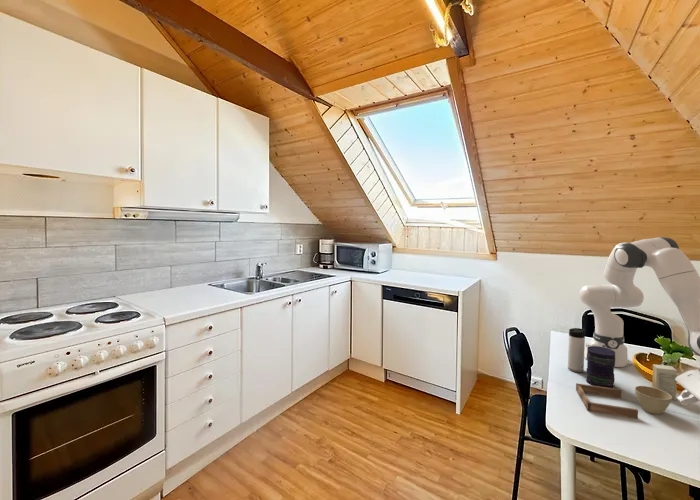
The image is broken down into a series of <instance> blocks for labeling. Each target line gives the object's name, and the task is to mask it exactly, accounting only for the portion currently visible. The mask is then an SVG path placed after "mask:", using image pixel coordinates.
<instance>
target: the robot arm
mask: <svg viewBox="0 0 700 500" xmlns="http://www.w3.org/2000/svg"><path fill="white" fill-rule="evenodd" d="M643 267H649V268H651V269H652V270H653V271H654V273H655V275H656V278H657V279H658V281H659V283H660V286H661V287H662V288H663V290H664V291H665V293H666V294H667V296H669V297H668V298H670V299H671V301H672V302H673V303H674V305H675V307H676V308H677V310H678V311H679V314H680V316H681V318H682V320H683V322H684V325H685V327H686V329H687V333H688V337H687V345H688V348H689V349H690V350H691V351H692V352H693V353H694V354H695V355H697V356H698V357H700V275H699V273H698V271H697V270H696V268H695V266H694V264H693V263H692V261H691V260H690V258H689V257H688V256H687V255H686V254H685V253H684V252H683V251H682V250H681V249H680V247H679V245H678V243H677V242H676V241H675V240H674V239H672V238H671V237H666V236H665V237H664V236H659V237H654V238H643V239H640V240H635V241H632V242H626V241H625V242H620V243H618V244H616V245H615V246H614V247H613V249H612V250H611V252H610V254H609V256H608V258H607V261H606V264H605V266H604V270H603V277H604V279H605V280H606V281H607V282H608V283H609V284H601V283H600V284H599V283H598V284H596V283H595V284H587V285H584V286H582V287H581V288H580V290H579V294H578V296H579V299H580V301H581V302H582V303H583V304H584V305H585V306H587V307H588V308H589V309H590V310H591V312H592V314H593V317H594V327H595V328H594V331H593V335H592V339H591V340H590V341H588V343H587V342H585V348H584V360H587V351H588V350H587V348H588V347H590V346H598V347H603V346H602V345H605V346H606V347H604V348H608V349H611V350H613V351H615V366H614V368H624V367H626V366H629V365H632V361H631V360H629V358H628V347H627V346H626V345H625V336H624V320H623V318H621V317H620V316H619V315H617V314H615V313H613V312H612V311H611V308H625V309H627V308H635V307H640V306H641V305H642V304H643V302H644V298H645V297H644V293H643V292H642V290H641V289H640V288H639V287H637V286H636V285H635V284H634V278H635V275H636V273H637V269H643ZM675 381H676V382H677V384H678V385H679V386H681V387H682V388H683V389H684V390H682V391H681V393H680V395H678V396H676V400H677V401H678V402H679V403H680V404H682V405H683V406H688V405H689V404H696V403H698V402H700V369H691V370H687V371H685V372H683V373H681V374H679V375H677V377H676V378H675Z"/></svg>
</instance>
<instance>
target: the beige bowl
mask: <svg viewBox="0 0 700 500" xmlns="http://www.w3.org/2000/svg"><path fill="white" fill-rule="evenodd" d="M634 392H635V397H636V398H637V401H638V404H639V405H640V406H641V408H642V409H643V411H645V412H647V413H650V414H652V415H661V414H663V413H664V412H665V411H666V410H667V409H668V407H669V406H670V404H671V402H672V399H671V398H672V397H671V395H670V394H668V393H667V392H665V391H662V390H660V389H657V388H653V387H652V386H646V385H638V386H635V387H634Z"/></svg>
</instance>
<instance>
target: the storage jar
mask: <svg viewBox="0 0 700 500" xmlns="http://www.w3.org/2000/svg"><path fill="white" fill-rule="evenodd" d="M602 346H603V347H598V346H590V347H588V348H587V350H588V351H587V359H586V361H587V363H586V364H587V366H586V367H587V368H586V372H585V377H586V379H585V381H586V383H587V385H592V386H599V387H607V388H614V389H615V385H614V384H615V378H616V377H615V373H614V372H615V367H614V366H615V351H613V350H611V349H608V348H604V347H606V346H605V345H602Z"/></svg>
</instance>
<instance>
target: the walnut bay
mask: <svg viewBox="0 0 700 500" xmlns="http://www.w3.org/2000/svg"><path fill="white" fill-rule="evenodd" d="M575 391H576V392H577V395H578V396H579V399H580V400H581V402H582V403H583V405H584V407H585V409H586V411H588V412H593V413H600V414H607V415H611V416H612V415H613V416H618V417H625V418H632V419H637V420H638V418H639V409H637V408H633V407H632V408H631V407H624V406H618V405H612V404H605V403H600V402H599V403H598V402H592V401H590V400H589V398H588V395H586V393H587V394H593V395H599V396H607V397H613V398H620V399H621V398H622V390H621V389H620V388H615V387H614V388H607V387H599V386H592V385H590V384H583V383H579V382H578V383H577V382H576V383H575Z"/></svg>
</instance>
